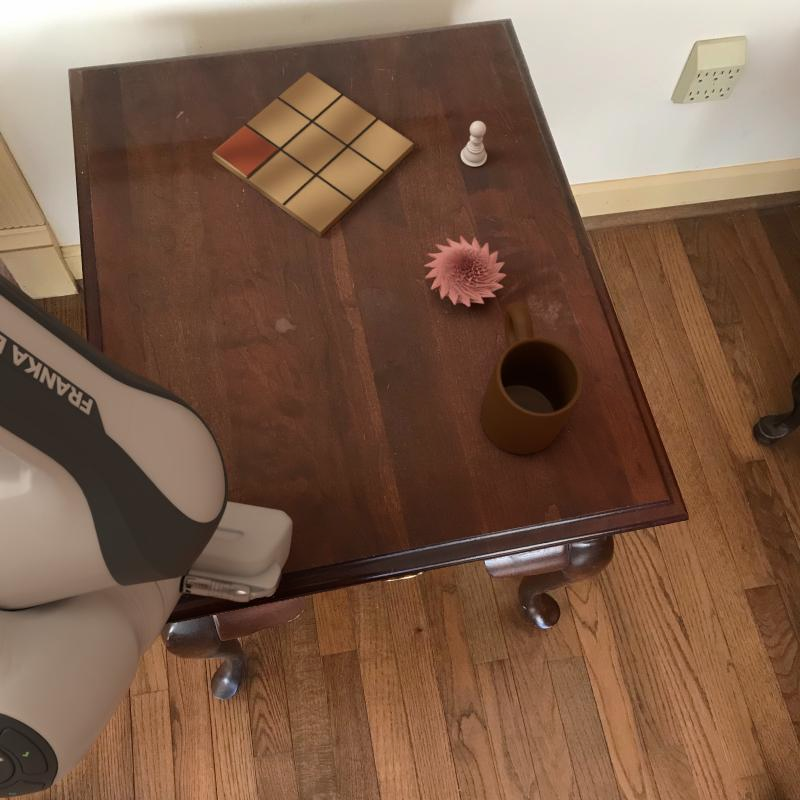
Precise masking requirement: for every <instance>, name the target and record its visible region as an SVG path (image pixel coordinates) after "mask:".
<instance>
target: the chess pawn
mask: <svg viewBox="0 0 800 800" xmlns="http://www.w3.org/2000/svg"><path fill="white" fill-rule="evenodd" d="M486 133H487V126H486V124H485V122H483V121H481V120H475V121H473V122H472V123H471V124H470V126H469V134H470V135H469V141H468V142H467V143H466V145H465V146H464V147H463V149H462V150H461V151H460V159H461V161H462V162H463V163H464V164H465V165H466V166H469V167H473V168H475V167H476V168H477V167H480V166H482V165H484V164H485V163H486V161H487V159H488V158H487V157H488V153H487V152H486V148H485V145H484V142H483V140H484V136H485V135H486Z"/></svg>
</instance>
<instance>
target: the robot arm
mask: <svg viewBox="0 0 800 800" xmlns="http://www.w3.org/2000/svg"><path fill="white" fill-rule="evenodd" d="M218 443H219V442H218V441H217V439H216V437H215V435H214V433H213V431H212V430H211V428H210V426H209V425H208V423H207V422H206V421H205V419H204V418H203V417H202V416H201V415H200V413H198V412H197V410H196V409H195V408H194V407H192V406H191V405H190V404H188V403H187V402H186V401H185V400H184V399H182V397H180V396H178V395H177V394H175V393H174V392H172V391H170V390H169V389H167V388H166V387H163V386H162V385H160V384H158V383H157V382H155V381H153V380H151V379H149V378H147V377H144V376H142V375H140V374H139V373H136V372H134V371H132V370H130V369H128V368H127V367H124V366H123V365H121V364H119V363H118V362H116V361H115V360H113V359H111V358H110V357H109V356H108V355H107V354H105V353H104V352H102V351H101V350H100V349H99V348H98V347H96V346H94V345H93V344H92V343H91V342H89V341H88V340H87V339H85V338H84V337H83V336H82V335H80V334H79V333H78V332H76V331H75V330H74V329H73V328H71V327H70V326H68V325H67V324H66V323H65V322H63V321H62V320H61V319H60V318H59V317H57V316H56V315H54V314H53V313H52V312H51V311H49V310H48V309H47V308H46V307H44V306H43V305H42V304H40V303H39V302H38V301H36V300H35V299H34V298H33V297H31V296H30V295H28V294H27V293H26V292H25V291H23V290H22V289H21V288H20V287H19V286H17V285H16V284H15V283H13V282H12V280H10V279H8V278H7V277H6V276H4V275H3V274H2V273H0V799H7V798H16V797H20V796H27V795H31V794H35V793H39V792H43V791H45V790H46V791H47V790H48V789H50V788H52V787H54V786H55V785H56V784H57V783H59V782H60V781H61V780H64V778H65V777H66V776H68V775H69V774H70V773H71V772H72V771H73V770H74V769H75V768H76V767H77V766H78V765H79V764H80V762H81V761H82V760H83V759H84V758H85V757H86V756H87V754H88V753H89V752H90V750H91V749H92V748H93V747H94V745H95V744H96V743H97V742H98V740H99V738H101V736H102V734H103V733H104V731H105V730H106V728H107V727H108V725H109V723H110V722H111V721H112V719H113V717H114V716H115V714H116V712H117V711H118V709H119V708H120V706H121V704H122V702H123V700H124V699H125V697H126V696H127V694H128V691H129V690H130V688H131V686H132V684H133V683H134V681H135V678H136V675H137V673H138V669H139V665H140V658H141V657H142V656H143V655H145V654H146V653H147V652H148V651H149V650H150V648H151V647H153V645H154V644H155V642H156V641H157V640H158V638H159V636H160V634H161V633H162V630H163V628H164V627H165V626H166V623H167V622H168V620H169V618H170V616H171V614H172V613H173V611H174V610H175V607H176V606H177V604H178V602H179V600H180V599H181V597H182V595H183V593H185V594H191V595H196V596H203V597H210V598H211V597H213V598H217V599H218V598H219V599H224V600H229V601H232V602H237V603H248V602H250V601H251V600H254V599H258V598H259V599H260V598H264V597H266V598H268V597H271V596H273V595H274V594H275V592H276V591H277V589H278V587H279V585H280V582H281V580H282V577H283V573H282V570H283V568H284V566H285V564H286V562H287V560H288V558H289V555H290V550H291V544H292V537H293V527H294V526H293V525H294V524H293V519H291V518H292V517H290V516H289V515H288V514H287V513H286V512H285V511H284V510H280V509H277V508H271V507H270V508H269V507H263V506H259V505H252V504H246V503H240V502H235V501H228V499H229V481H228V473H227V472H228V471H227V468H226V463H225V460H224V456H223V453H222V450H221V447H220V445H219V444H218Z"/></svg>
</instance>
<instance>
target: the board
mask: <svg viewBox="0 0 800 800" xmlns="http://www.w3.org/2000/svg"><path fill="white" fill-rule="evenodd" d="M413 150H414V142H413V141H411V140H409V139H408V138H407V137H405V136H404V135H402V134H401V133H400V132H398V131H396V130H395V129H394V128H393V127H391V126H389V125H387V124H386V123H385V122H383V121H381V120H380V119H379V118H378V117H376V116H374V115H373V114H371V113H370V112H368V111H367V110H365V109H364V108H362V107H361V106H360V105H358V104H356V103H355V102H353V101H352V100H351V99H349V98H348V97H346V96H345V95H344V94H343V93H340V92H339V91H337V90H336V89H335V88H333V87H332V86H330V85H329V84H327V83H326V82H324V81H323V80H321V79H320V78H318V77H317V76H315V75H314V74H312V73H311V72H309V71H307V72H306V73H305V74H304V75H302V77H300V78H299V79H298V80H297V81H295V82H294V83H293V84H292V85H290V86H289V87H288V88H287V89H286V90H285V91H284V92H282V93H281V94H280V95H279V96H277V97H276V98H275V99H274V100H273V101H272V102H271V103H269V104H268V105H267V106H266V107H264V108H263V109H262V110H261V111H259V113H258V114H257V115H255V116H254V117H253V118H251V119H250V120H249V121H248V122H246V123H245V124H244V125H243V126H242V127H241V128H239V130H237V131H236V132H235V133H234V134H233V135H232V136H230V137H229V138H228V139H227V140H226V141H224V142H223V143H222V144H221V145H220V146H219V147H217V148H216V149H215V150H214V151H213V152H212V153H211V154H212V157H213V160H214V161H215V162H217V163H219V164H220V165H221V166H222V167H224V168H225V169H227V170H228V171H229V172H231V173H232V174H233V175H234V176H236V177H238V178H239V179H241V180H242V181H243V182H244V183H246V184H247V185H249V186H250V187H251V188H253V189H254V190H255V191H257V192H258V193H259V194H261V195H262V196H264V197H265V198H266V199H268V200H269V201H270V202H272V203H273V204H274V205H276V206H277V207H278V208H280V210H283V211H284V213H285V212H286V213H287V215H289V216H291V217H292V218H293V219H295V220H296V221H298V222H299V223H300V224H302V225H303V226H304V227H306V228H307V229H308V230H310V231H311V232H312V233H314V234H315V235H317V236H318V237H319V238H322V237H323V236H324V235H325V234H326V233H328V232H329V230H331V228H333V227H334V226H335V225H336V224H337V223H338V222H339V221H340V220H341V219H342V218H343V217H344V216H345V215H346V214H347V213H348V212H349V211H350V210H352V208H353V207H355V206H356V205H357V204H358V203H359V202H360V201H361V200H362V199H363V198H364V197H366V195H367V194H368V193H369V192H371V190H372V189H373V188H374V187H376V186H377V185H378V183H380V182H381V181H382V180H383V179H384V178H385V177H386V176H387V175H388V174H389V173H390V172H391V171H392V170H393V169H394V168H396V167H397V166H398V165H399V164H400V163H401V162H402V161H403V160H404V159H405V158H406V157H407V156H408V155H409V154H410V153H411V152H413Z"/></svg>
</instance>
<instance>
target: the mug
mask: <svg viewBox="0 0 800 800" xmlns="http://www.w3.org/2000/svg"><path fill="white" fill-rule="evenodd" d="M503 325H504V337H505V342H506V343H505V344H506V347H507V348H506V349H504V351H503V352H502V353H501V355H500V356H499V358H498V360H497V362H496V363H495V365H494V367H493V369H492V372H491V374H490V378H489V381H488V383H487V386H486V389H485V393H484V396H483V399H482V403H481V407H480V420H481V426H482V427H483V430H484V432H485V434H486V435H487V437H488V438H489V439H490V441H491V442H493V444H495V445H496V446H497V447H498V448H500V449H502V450H504V451H506V452H509V453H512V454H517V455H531V454H535V453H537V452H540V451H542V450H543V449H546V448H548V447H549V446H550V445H551V444H552V443H553V442H554V441H555V439H556V438H557V437H558V436H559V434H560V432H561V431H562V429H563V428H564V426H565V425H566V423H567V421H568V420H569V418H570V417H571V415H572V413H573V412H574V410H575V408H576V406H577V405H578V403H579V399H580V397H581V395H582V393H583V388H584V376H583V371H582V367H581V365H580V363H579V361H578V359H577V358H576V357H575V355H574V354H573V353H572V352H571V350H569V349H568V348H567V347H565V346H564V345H562V344H561V343H559V342H557V341H554V340H552V339H549V338H545V337H535V334H534V326H533V320H532V315H531V313H530V310H529V308H528V307H527V305H526V304H525V303H523V302H521V301H515V302H512V303H510V304H509V305H508V306H507V308H506V310H505V314H504V324H503Z"/></svg>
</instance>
